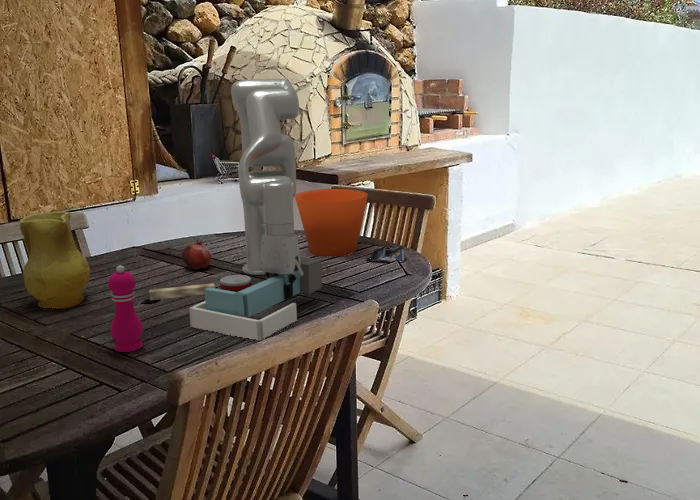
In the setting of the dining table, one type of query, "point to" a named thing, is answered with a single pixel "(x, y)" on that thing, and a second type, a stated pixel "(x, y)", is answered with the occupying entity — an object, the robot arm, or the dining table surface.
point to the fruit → (196, 256)
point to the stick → (179, 291)
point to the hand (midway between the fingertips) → (282, 296)
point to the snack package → (387, 254)
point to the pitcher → (53, 260)
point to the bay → (241, 322)
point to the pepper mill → (124, 312)
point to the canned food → (235, 283)
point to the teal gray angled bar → (263, 292)
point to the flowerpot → (332, 219)
